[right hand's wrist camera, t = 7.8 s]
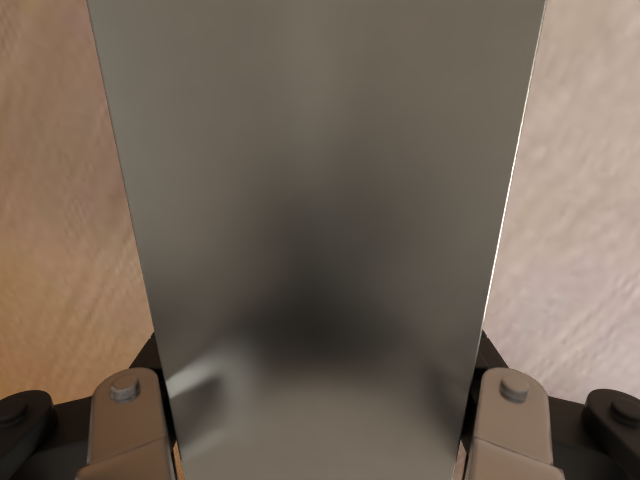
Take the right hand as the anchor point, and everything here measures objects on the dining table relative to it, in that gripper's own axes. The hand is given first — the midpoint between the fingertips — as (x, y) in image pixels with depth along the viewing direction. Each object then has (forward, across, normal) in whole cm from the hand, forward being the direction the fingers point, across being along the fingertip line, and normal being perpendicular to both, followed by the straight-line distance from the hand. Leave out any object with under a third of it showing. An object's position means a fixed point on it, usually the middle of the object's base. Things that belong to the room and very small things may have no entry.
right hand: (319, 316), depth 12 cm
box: (+9, 0, +10) cm, 13 cm away
